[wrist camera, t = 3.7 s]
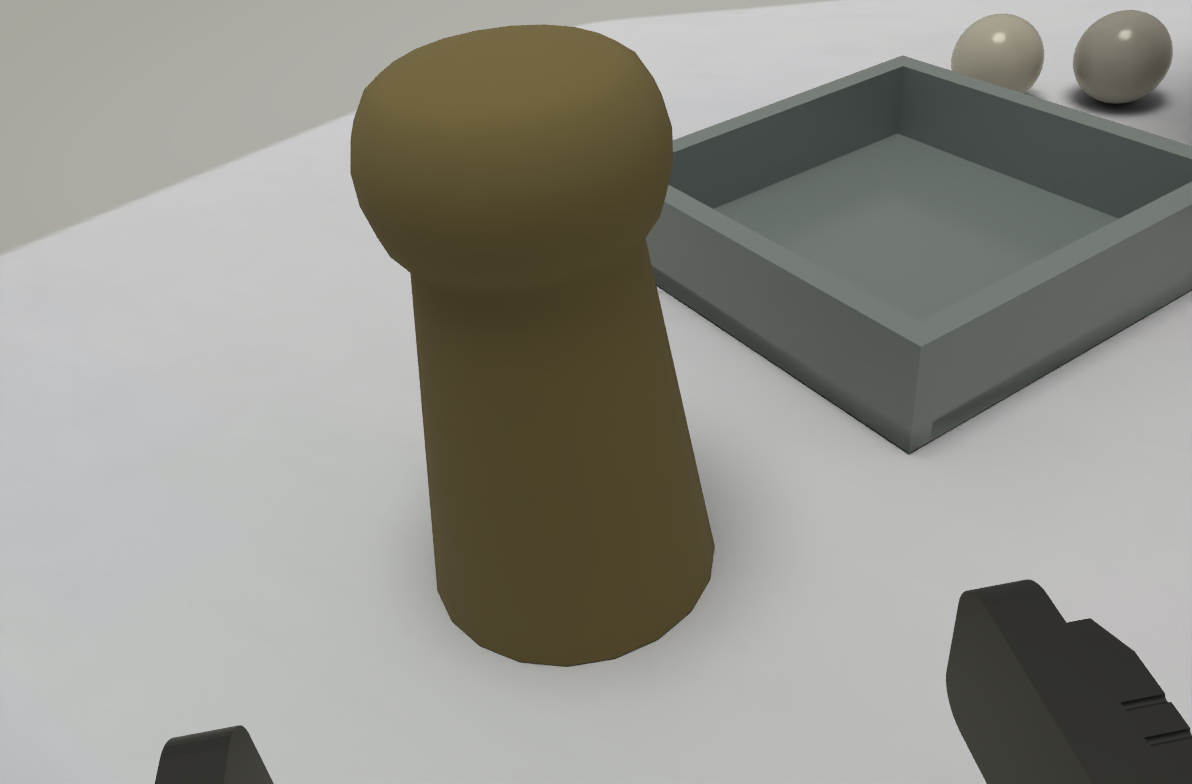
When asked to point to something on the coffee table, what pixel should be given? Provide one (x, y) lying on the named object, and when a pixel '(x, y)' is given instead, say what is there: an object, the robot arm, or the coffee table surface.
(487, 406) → the cork
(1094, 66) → the pebble
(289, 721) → the coffee table surface
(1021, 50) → the pebble
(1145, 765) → the robot arm
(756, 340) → the slate dish
